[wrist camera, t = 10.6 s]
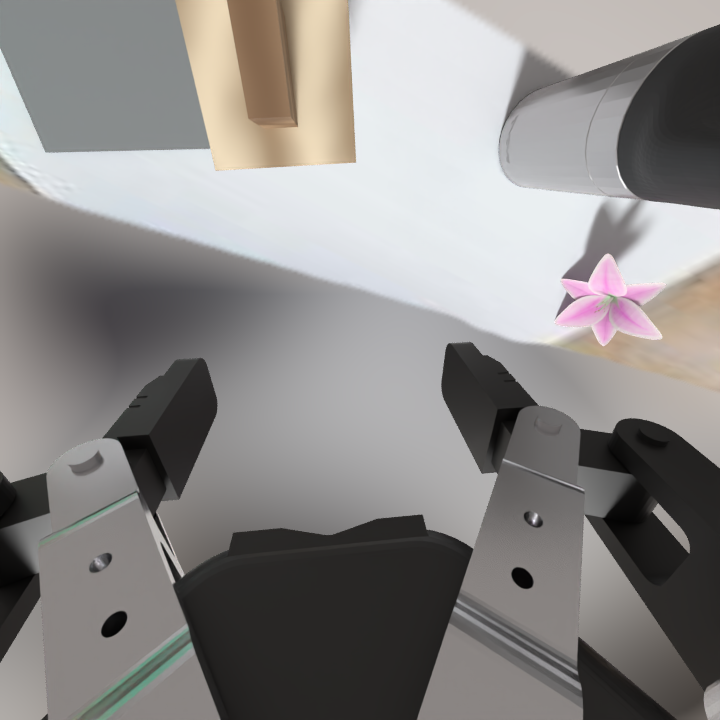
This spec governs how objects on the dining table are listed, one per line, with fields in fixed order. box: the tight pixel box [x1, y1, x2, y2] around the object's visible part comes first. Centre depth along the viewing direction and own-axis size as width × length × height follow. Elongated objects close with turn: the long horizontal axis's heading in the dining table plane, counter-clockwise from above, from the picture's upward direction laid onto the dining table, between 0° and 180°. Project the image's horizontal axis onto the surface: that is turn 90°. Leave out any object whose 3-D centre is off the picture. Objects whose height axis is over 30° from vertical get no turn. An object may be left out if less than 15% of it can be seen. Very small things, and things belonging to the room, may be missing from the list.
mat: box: [0, 0, 210, 152], centre depth 30 cm, size 18×14×1 cm
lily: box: [555, 254, 666, 346], centre depth 43 cm, size 12×12×10 cm
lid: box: [175, 0, 356, 171], centre depth 21 cm, size 11×11×7 cm
